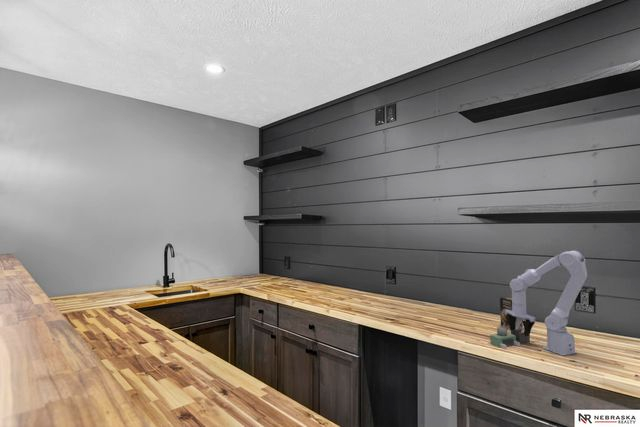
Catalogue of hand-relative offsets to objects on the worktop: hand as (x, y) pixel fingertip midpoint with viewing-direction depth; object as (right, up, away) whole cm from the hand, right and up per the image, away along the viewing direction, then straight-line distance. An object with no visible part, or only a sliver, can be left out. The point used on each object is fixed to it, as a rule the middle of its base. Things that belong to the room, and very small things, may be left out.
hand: (519, 333), depth 160 cm
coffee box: (+7, -5, +19) cm, 21 cm away
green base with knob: (-9, -4, -4) cm, 11 cm away
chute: (0, -4, 0) cm, 4 cm away
